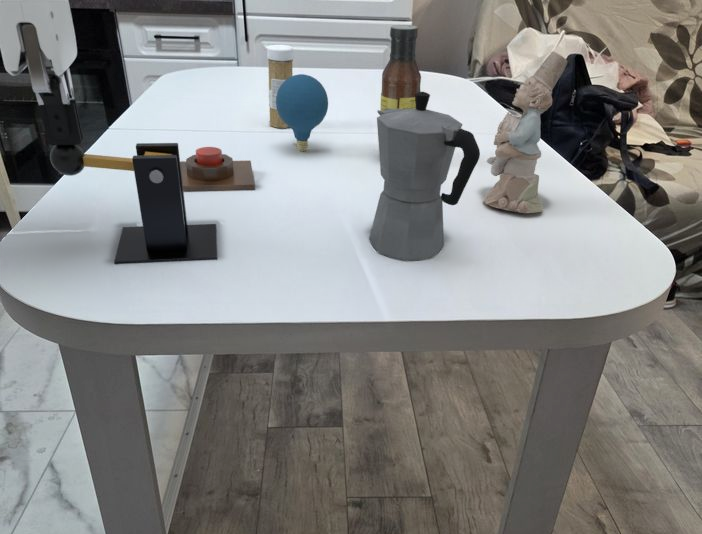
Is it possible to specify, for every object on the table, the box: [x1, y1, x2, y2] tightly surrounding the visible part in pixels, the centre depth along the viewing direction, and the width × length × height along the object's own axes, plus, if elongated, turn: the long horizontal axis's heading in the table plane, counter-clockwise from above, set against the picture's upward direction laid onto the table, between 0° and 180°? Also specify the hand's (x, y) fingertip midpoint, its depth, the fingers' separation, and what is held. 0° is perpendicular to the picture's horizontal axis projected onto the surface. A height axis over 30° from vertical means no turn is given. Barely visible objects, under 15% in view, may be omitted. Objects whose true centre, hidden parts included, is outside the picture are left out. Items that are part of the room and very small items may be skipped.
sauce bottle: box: [379, 24, 422, 110], centre depth 97 cm, size 6×6×20 cm
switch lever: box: [49, 145, 172, 177], centre depth 66 cm, size 12×3×3 cm, turn 101°
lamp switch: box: [113, 142, 218, 265], centre depth 69 cm, size 11×9×12 cm
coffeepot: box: [368, 91, 481, 262], centre depth 71 cm, size 15×9×18 cm, turn 39°
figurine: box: [482, 51, 568, 214], centre depth 83 cm, size 9×8×20 cm
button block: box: [180, 153, 256, 193], centre depth 89 cm, size 12×10×4 cm
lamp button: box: [195, 146, 223, 166], centre depth 88 cm, size 4×4×2 cm
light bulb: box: [276, 73, 329, 152], centre depth 101 cm, size 8×8×12 cm
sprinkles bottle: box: [266, 44, 294, 129], centre depth 112 cm, size 5×5×13 cm
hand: (66, 142), depth 64 cm, fingers closed
